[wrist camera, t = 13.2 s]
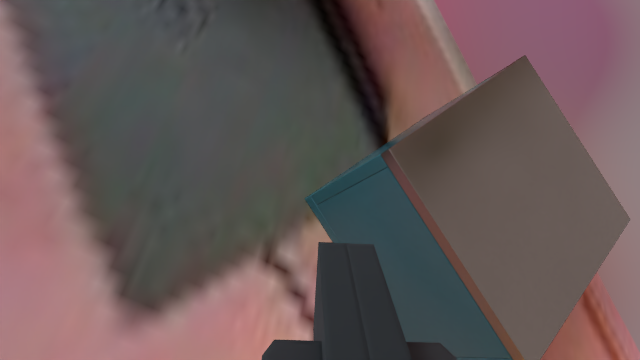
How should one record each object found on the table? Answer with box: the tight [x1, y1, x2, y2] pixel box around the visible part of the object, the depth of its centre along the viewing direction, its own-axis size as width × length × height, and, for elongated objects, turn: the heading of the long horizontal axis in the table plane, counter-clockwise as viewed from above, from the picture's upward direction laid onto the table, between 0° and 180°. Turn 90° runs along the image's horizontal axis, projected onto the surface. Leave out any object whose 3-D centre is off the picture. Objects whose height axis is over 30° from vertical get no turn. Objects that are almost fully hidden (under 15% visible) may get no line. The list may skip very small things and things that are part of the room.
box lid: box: [381, 56, 630, 360], centre depth 29 cm, size 16×14×1 cm
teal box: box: [305, 68, 513, 360], centre depth 33 cm, size 15×14×9 cm
